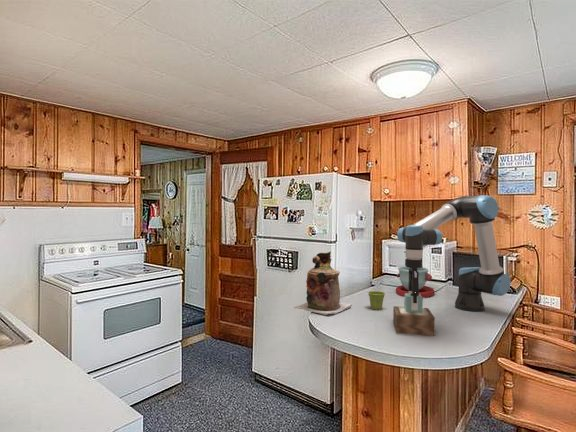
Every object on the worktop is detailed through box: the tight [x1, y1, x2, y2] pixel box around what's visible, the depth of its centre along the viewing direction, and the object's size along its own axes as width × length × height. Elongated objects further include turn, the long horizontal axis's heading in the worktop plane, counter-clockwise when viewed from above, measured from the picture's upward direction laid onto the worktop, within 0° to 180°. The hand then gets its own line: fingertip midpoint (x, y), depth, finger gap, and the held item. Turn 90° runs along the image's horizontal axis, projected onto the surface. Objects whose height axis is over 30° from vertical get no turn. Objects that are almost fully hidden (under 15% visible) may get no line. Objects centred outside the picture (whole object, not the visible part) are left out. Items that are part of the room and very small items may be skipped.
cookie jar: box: [293, 250, 353, 316], centre depth 206 cm, size 25×25×32 cm
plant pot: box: [367, 290, 386, 311], centre depth 207 cm, size 9×9×9 cm
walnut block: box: [392, 305, 436, 337], centre depth 171 cm, size 16×16×8 cm
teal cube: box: [403, 293, 424, 313], centre depth 171 cm, size 7×7×7 cm
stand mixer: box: [395, 243, 435, 298], centre depth 247 cm, size 24×32×40 cm
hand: (413, 307), depth 171 cm, fingers open, 9 cm apart
